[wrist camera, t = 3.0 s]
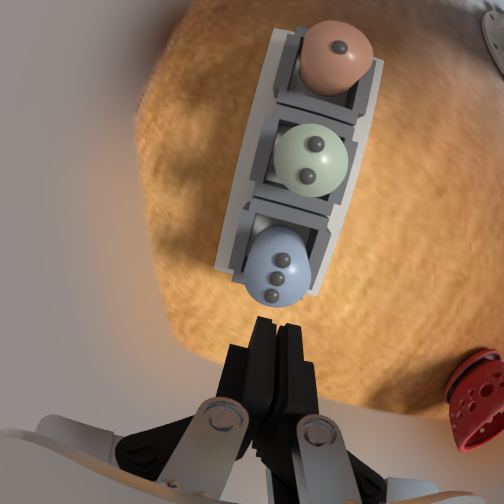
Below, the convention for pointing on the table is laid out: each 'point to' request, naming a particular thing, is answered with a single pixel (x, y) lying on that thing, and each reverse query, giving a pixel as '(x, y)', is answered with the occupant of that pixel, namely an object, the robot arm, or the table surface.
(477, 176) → the table surface
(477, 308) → the table surface
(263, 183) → the button board
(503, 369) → the plant pot
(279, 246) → the button three pip
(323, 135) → the button two pip
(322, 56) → the button one pip
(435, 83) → the table surface
